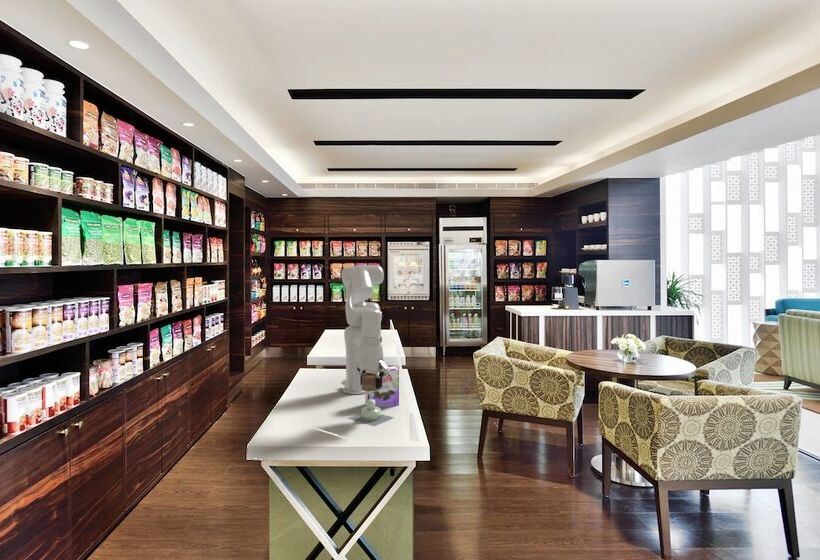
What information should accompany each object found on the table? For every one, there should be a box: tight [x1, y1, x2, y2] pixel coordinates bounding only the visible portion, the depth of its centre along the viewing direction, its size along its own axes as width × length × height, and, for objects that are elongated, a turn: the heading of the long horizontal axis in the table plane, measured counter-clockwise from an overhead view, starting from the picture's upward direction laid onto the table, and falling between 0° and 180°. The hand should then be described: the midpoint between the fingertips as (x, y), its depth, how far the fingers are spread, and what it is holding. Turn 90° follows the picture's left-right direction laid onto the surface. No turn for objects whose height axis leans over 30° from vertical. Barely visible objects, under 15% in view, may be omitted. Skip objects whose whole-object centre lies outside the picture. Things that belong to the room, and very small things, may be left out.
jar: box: [360, 399, 382, 421], centre depth 183 cm, size 8×8×7 cm
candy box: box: [364, 366, 400, 408], centre depth 200 cm, size 14×6×16 cm, turn 105°
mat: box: [347, 413, 395, 427], centre depth 183 cm, size 14×12×1 cm
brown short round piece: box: [362, 372, 381, 391], centre depth 182 cm, size 7×7×6 cm
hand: (371, 385), depth 182 cm, fingers closed on brown short round piece, 7 cm apart
